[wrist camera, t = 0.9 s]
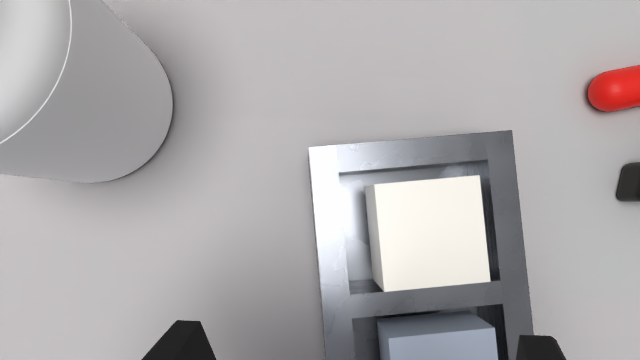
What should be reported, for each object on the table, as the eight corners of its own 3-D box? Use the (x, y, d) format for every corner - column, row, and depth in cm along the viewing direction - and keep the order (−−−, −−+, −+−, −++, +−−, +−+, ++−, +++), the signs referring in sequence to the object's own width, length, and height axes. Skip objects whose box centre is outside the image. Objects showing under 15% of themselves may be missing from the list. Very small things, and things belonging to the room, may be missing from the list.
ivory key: (464, 270, 21) (490, 281, 18) (373, 279, 21) (384, 291, 18) (455, 178, 22) (479, 175, 19) (364, 186, 22) (374, 184, 18)
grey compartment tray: (518, 531, 24) (561, 597, 20) (342, 552, 24) (350, 623, 20) (478, 141, 25) (511, 130, 21) (308, 156, 24) (308, 147, 20)
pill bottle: (185, 38, 25) (0, -215, 10) (166, 191, 24) (-58, 175, 9) (31, 21, 24) (-403, -267, 9) (10, 174, 24) (-480, 130, 9)
